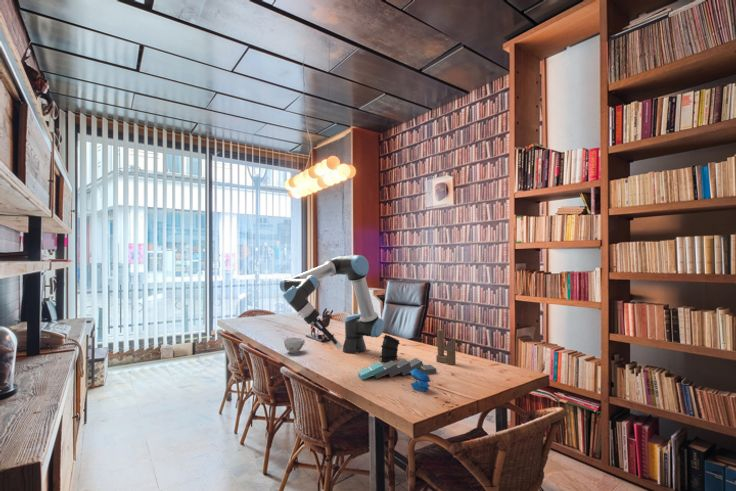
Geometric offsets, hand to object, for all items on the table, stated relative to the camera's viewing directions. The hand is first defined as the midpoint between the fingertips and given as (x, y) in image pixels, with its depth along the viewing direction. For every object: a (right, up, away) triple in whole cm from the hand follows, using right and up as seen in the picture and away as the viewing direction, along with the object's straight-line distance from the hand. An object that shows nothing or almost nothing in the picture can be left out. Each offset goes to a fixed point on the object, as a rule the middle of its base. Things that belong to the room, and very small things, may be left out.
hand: (340, 347), depth 183 cm
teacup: (-33, -17, +52) cm, 64 cm away
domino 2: (+24, -14, +2) cm, 27 cm away
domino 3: (+30, -14, +4) cm, 33 cm away
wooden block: (+58, -15, +24) cm, 64 cm away
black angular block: (+27, -16, +30) cm, 43 cm away
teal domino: (+10, -14, -1) cm, 17 cm away
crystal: (+37, -14, -18) cm, 44 cm away
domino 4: (+37, -14, +6) cm, 39 cm away
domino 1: (+17, -14, 0) cm, 22 cm away
